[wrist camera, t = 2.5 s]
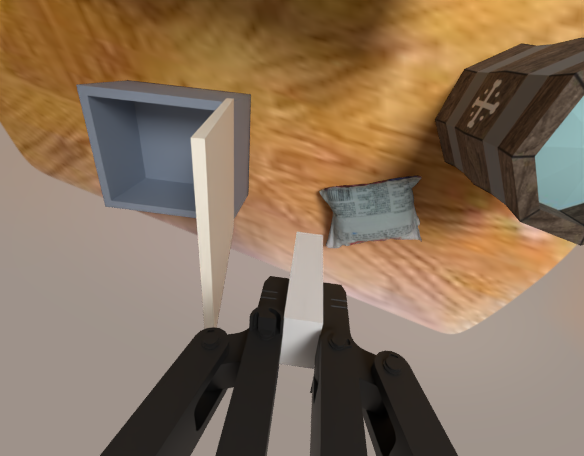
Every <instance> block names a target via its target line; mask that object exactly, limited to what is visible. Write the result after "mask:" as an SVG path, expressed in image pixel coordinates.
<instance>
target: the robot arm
mask: <svg viewBox="0 0 584 456" xmlns="http://www.w3.org/2000/svg"><path fill="white" fill-rule="evenodd" d="M279 364H284V365H291V366H299V367H305V368H312V369H313V368H314V377H313V382H312V387H311V391H310V393H312V414H311V443H310V456H367V448H366V439H365V430H364V422H363V417H364V420H365V423H366V426H367V429H368V432H369V435H370V438H371V441H372V444H373V447H374V450H375V453H376V456H458V455H457V453H456V451H455V449H454V447H453V445H452V444H451V442H450V440H449V438H448V436H447V434H446V433H445V431H444V429H443V427H442V425H441V423H440V421H439V420H438V418H437V416H436V414H435V412H434V410H433V409H432V407H431V405H430V403H429V401H428V399H427V397H426V395H425V394H424V392H423V390H422V388H421V386H420V384H419V383H418V381H417V379H416V377H415V375H414V373H413V371H412V369H411V368H410V366H409V364H408V363H407V361H406V360H405V359H404V358H403V357H401V356H400V355H399V354H397V353H394V352H392V351H382V352H379V353H378V354H377V355H375V354H372V353H370V352H368V351H365V350H364V349H362V348H360V347H359V346H358V345H357V344H356V343H355V342H354V341H353V339H352V337H351V334H350V327H349V318H348V309H347V298H346V292H345V290H344V289H343V287H342V286H341V285H338V284H331V283H323V235H319V234H311V233H303V232H297V234H296V241H295V247H294V254H293V260H292V267H291V274H290V279H288V278H281V277H273V276H270V277H269V278H268V279H267V280H266V281H265V283H264V286H263V289H262V293H261V298H260V301H259V305H258V307H257V308H256V309H254V310H253V311H252V313H251V314H250V326H249V328H248V329H247V330H245V331H243V332H240V333H235V334H228V335H227V333H226V332H225V331H224V330H222V329H220V328H215V327H212V328H206V329H204V330H202V331H200V332H199V333H198V334H197V335H195V337H194V338H193V339H192V341H191V342H190V343H189V344H188V346H187V347H186V348H185V349H184V351H183V352H182V353H181V354H180V356H179V357H178V358H177V359H176V361H175V362H174V363H173V364H172V366H171V367H170V368H169V370H168V371H167V372H166V373H165V374H164V376H163V377H162V378H161V380H160V381H159V382H158V383H157V384H156V386H155V387H154V388H153V390H152V391H151V392H150V393H149V395H148V396H147V397H146V398H145V400H144V401H143V402H142V403H141V405H140V406H139V407H138V409H137V410H136V411H135V412H134V413H133V415H132V416H131V417H130V419H129V420H128V421H127V423H126V424H125V425H124V426H123V427H122V428H121V430H120V431H119V433H118V434H117V435H116V436H115V437H114V439H113V440H112V441H111V442H110V444H109V445H108V446H107V447H106V449H105V450H104V451H103V452H102V454H101V455H100V456H190V455H191V453H192V452H193V449H194V448H195V446H196V445H197V443H198V441H199V439H200V437H201V436H202V434H203V432H204V430H205V428H206V427H207V425H208V423H209V421H210V420H211V418H212V416H213V414H214V412H215V411H216V409H217V407H218V405H219V403H220V401H221V400H222V398H223V396H224V395H225V393H226V390H227V389H228V388H231V387H234V389H233V393H232V396H231V400H230V404H229V408H228V411H227V415H226V419H225V423H224V426H223V430H222V434H221V437H220V441H219V445H218V449H217V452H216V456H267V449H268V442H269V435H270V427H271V421H272V414H273V406H274V399H275V392H276V385H277V378H278V369H279ZM314 364H315V366H314Z"/></svg>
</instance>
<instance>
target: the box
mask: <svg viewBox="0 0 584 456" xmlns="http://www.w3.org/2000/svg"><path fill="white" fill-rule="evenodd" d="M77 90H78V94H79V98H80V102H81V106H82V110H83V115H84V119H85V123H86V127H87V131H88V136H89V140H90V144H91V148H92V152H93V156H94V161H95V165H96V169H97V173H98V177H99V181H100V186H101V190H102V194H103V198H104V202H105V206H106V207H114V208H122V209H129V210H137V211H145V212H153V213H160V214H168V215H176V216H184V217H191V218H196V205H195V191H194V178H193V164H192V150H191V137H192V136H193V134H194V133H195V132H196V131H197V130H198V129H199V128H200V127H201V126H202V125H203V123H204V122H205V121H206V120H207V119H208V118H209V117H210V116H211V115H212V114H213V112H214V111H215V110H216V109H217V108H218V107H219V106H220V105H221V104H222V102H223V101H224V100H225V99H226V98H232V99H234V218H235V217H236V215H237V213H238V211H239V210H240V208H241V206H242V204H243V203H244V201H245V199H246V197H247V196H248V188H249V147H250V107H251V94H242V93H233V92H225V91H216V90H207V89H199V88H190V87H181V86H173V85H164V84H155V83H146V82H138V81H129V80H127V81H115V82H103V83H92V84H80V85H77Z"/></svg>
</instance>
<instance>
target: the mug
mask: <svg viewBox="0 0 584 456" xmlns="http://www.w3.org/2000/svg"><path fill="white" fill-rule="evenodd" d="M435 122H436V126H437V130H438V135H439V139H440V143H441V148H442V152H443V156H444V161H445V162H446V163H448V164H451V165H453V166H455V167H457V168H458V169H459V170H460V171H462V172H463V173H464V174H465V175H466V176H467V177H468V178H469V179H470V180H471V182H472V183H473V184H474V185H476V186H478V187H480V188H481V189H483V190H485V191H487V192H489V193H491V194H492V195H493V196H495V197H496V198H497V199H499V200H500V201H501V202H503V203H504V204H505V205H506V206H507V207H508V208H509V209H510V211H511V212H512V213H513V214H514V215H515V216H516V218H517V219H518V220H519V221H520V222H522V223H525V224H527V225H530V226H532V227H535V228H537V229H540V230H542V231H545V232H547V233H550V234H552V235H555V236H557V237H560V238H563V239H565V240H568V241H570V242H573V243H575V244H578V245H584V38H578V39H574V40H570V41H565V42H561V43H557V44H551V45H540V46H535V45H528V44H519V45H517V46H515V47H513V48H510V49H508V50H506V51H504V52H502V53H499V54H497V55H495V56H493V57H490V58H488V59H486V60H484V61H482V62H479V63H477V64H475V65H473V66H470V67H468V68H466V69H464V71H463V72H462V74H461V76H460V78H459V79H458V81H457V83H456V84H455V86H454V88H453V90H452V91H451V93H450V95H449V96H448V98H447V100H446V102H445V103H444V105H443V107H442V108H441V110H440V112H439V114H438V115H437V117H436V119H435Z"/></svg>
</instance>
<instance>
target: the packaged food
mask: <svg viewBox="0 0 584 456" xmlns="http://www.w3.org/2000/svg"><path fill="white" fill-rule="evenodd" d="M421 178H422V177H421V176H418V175H417V176H409V177H403V178H394V179H389V180H384V181H379V182H375V183H370V184H359V185H343V186H336V187H328V188H325V189H323V190H320V191H319V192H320V194H321V196H322V197H323V199H324V200H325V201H326V202H327V203H328V204H329V206H330V207H331V209H332V211H333V218H332V223H331V228H330V232H329V238H328V240H327V243H326V246H327V247H328V248H339V247H341V246H342V245H345V246H349V245H353V244H359V243H363V242H366V241H385V240H387V239H398V240H399V239H402V240H405V239H410V240H411V239H418V240H420V241H421V242H422V239H421V237H420V233H419V229H418V225H419V224H420V220H419V218H418V216H417V214H416V211H415V207H414V196H413V191H412V188H413V187H414V186H415V185H416V184H417V183H418V182H419V180H420V179H421Z"/></svg>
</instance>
